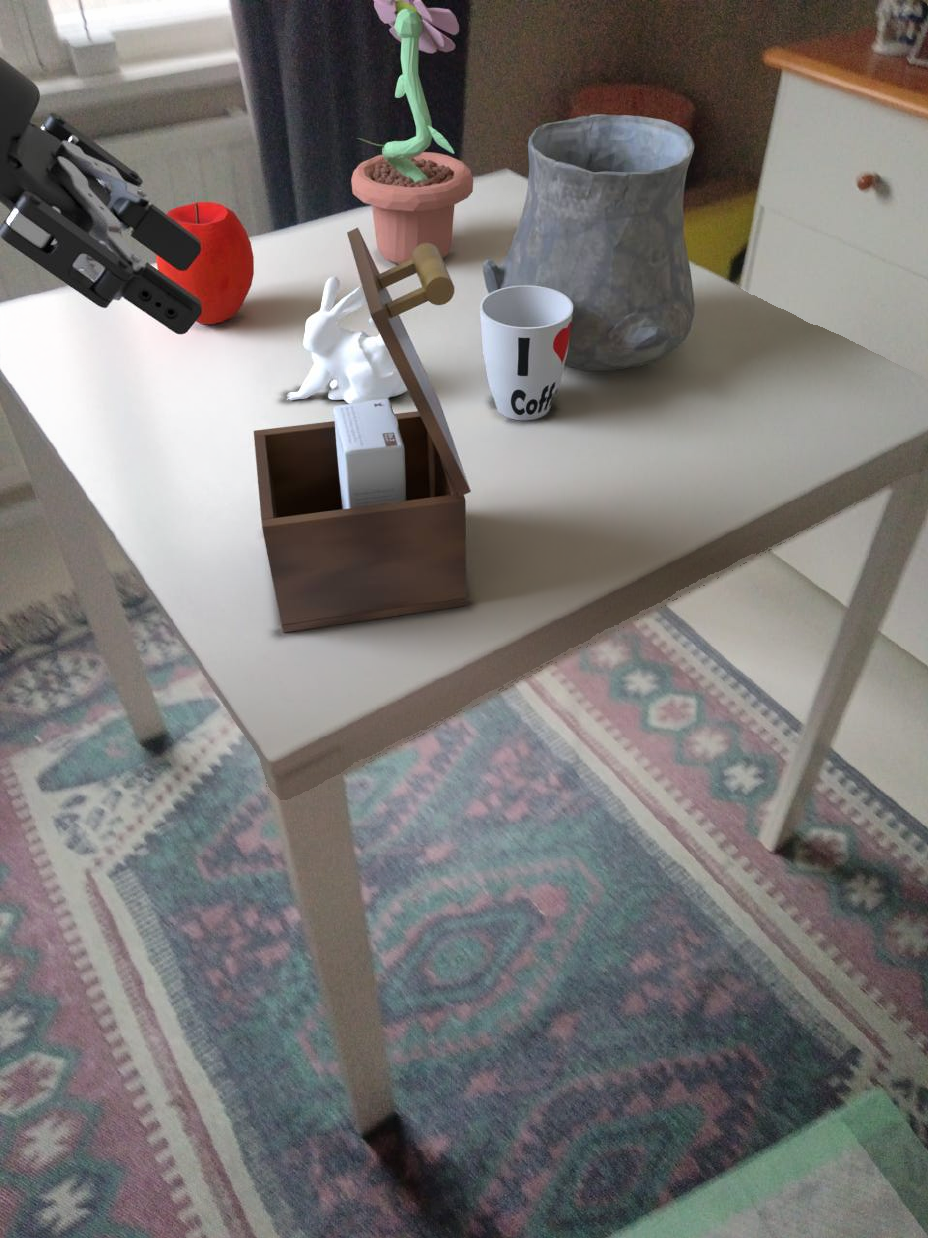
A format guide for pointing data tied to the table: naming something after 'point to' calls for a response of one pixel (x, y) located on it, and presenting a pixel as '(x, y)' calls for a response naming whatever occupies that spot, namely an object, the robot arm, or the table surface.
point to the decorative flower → (413, 148)
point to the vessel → (607, 236)
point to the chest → (357, 531)
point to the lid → (398, 341)
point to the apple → (214, 260)
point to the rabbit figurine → (346, 354)
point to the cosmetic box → (369, 454)
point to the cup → (525, 347)
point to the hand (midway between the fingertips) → (193, 287)
